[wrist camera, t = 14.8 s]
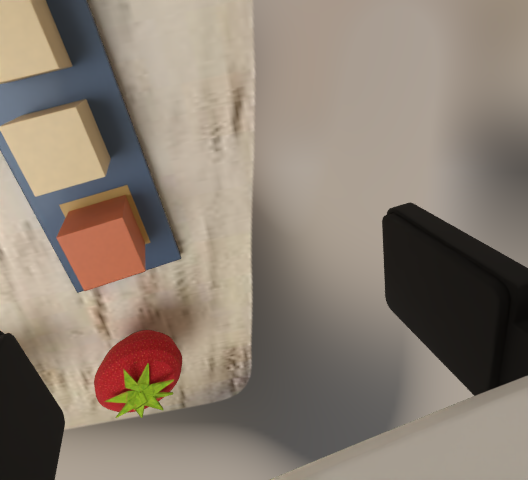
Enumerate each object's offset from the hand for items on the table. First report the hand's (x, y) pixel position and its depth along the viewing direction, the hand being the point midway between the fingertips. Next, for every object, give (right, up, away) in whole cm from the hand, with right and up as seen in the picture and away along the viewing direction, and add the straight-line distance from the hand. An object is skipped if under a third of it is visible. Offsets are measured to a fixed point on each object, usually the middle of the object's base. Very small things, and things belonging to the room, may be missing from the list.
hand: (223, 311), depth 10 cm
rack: (-13, +9, +20) cm, 25 cm away
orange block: (-11, +3, +22) cm, 25 cm away
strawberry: (-11, -7, +28) cm, 31 cm away
